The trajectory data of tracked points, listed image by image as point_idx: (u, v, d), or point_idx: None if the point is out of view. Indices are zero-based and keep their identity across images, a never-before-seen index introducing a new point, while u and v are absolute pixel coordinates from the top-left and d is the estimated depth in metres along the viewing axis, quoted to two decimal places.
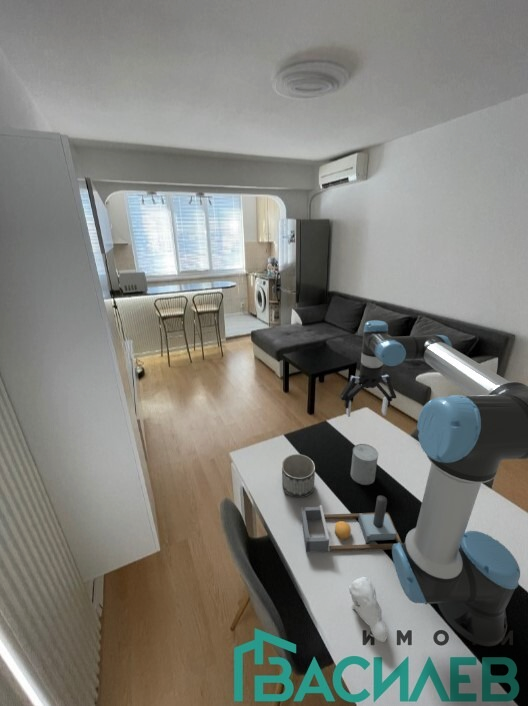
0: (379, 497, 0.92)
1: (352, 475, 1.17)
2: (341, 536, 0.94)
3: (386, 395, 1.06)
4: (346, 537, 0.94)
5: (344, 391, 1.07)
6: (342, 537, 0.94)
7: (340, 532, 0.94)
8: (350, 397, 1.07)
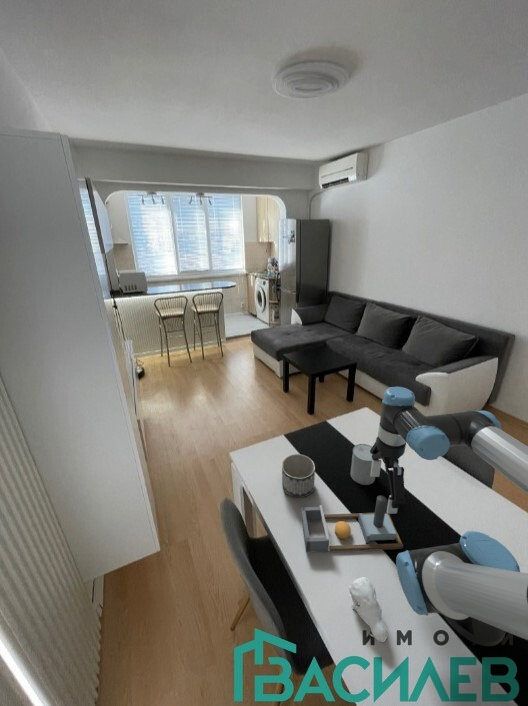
0: (379, 497, 0.92)
1: (352, 475, 1.17)
2: (341, 536, 0.94)
3: (390, 489, 0.81)
4: (346, 537, 0.94)
5: None
6: (342, 537, 0.94)
7: (340, 532, 0.94)
8: (373, 456, 0.93)
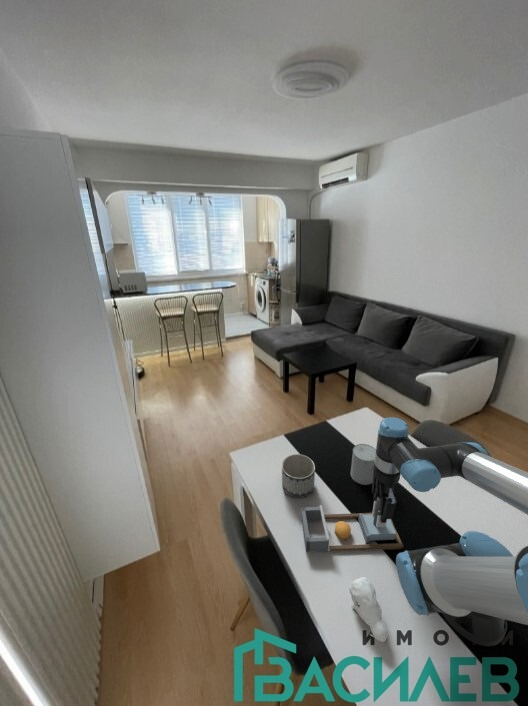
0: (379, 497, 0.92)
1: (352, 475, 1.17)
2: (341, 536, 0.94)
3: (380, 507, 0.89)
4: (346, 537, 0.94)
5: None
6: (342, 537, 0.94)
7: (340, 532, 0.94)
8: (374, 495, 0.94)
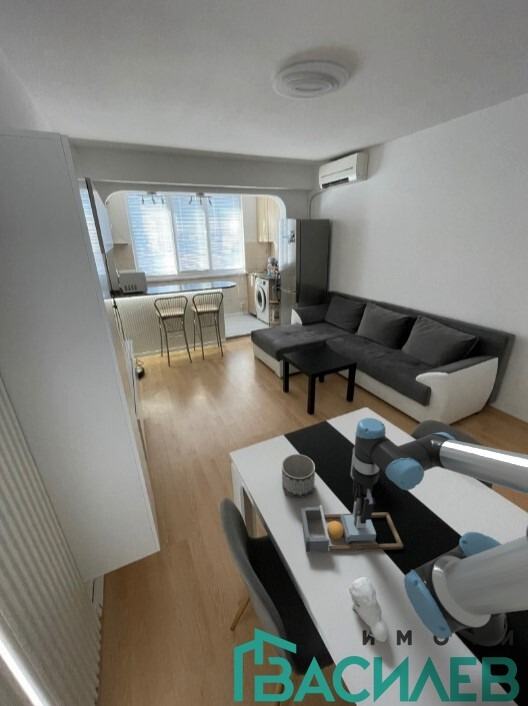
0: (359, 498, 0.92)
1: None
2: (334, 536, 0.94)
3: (360, 508, 0.89)
4: (339, 536, 0.94)
5: None
6: (335, 537, 0.94)
7: (332, 532, 0.94)
8: (355, 495, 0.94)
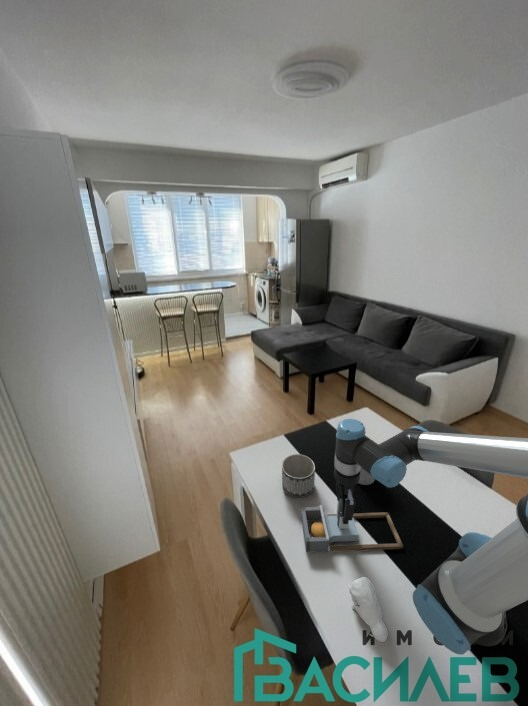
0: (341, 498, 0.92)
1: None
2: None
3: (342, 508, 0.89)
4: None
5: None
6: None
7: (316, 533, 0.94)
8: (338, 496, 0.94)
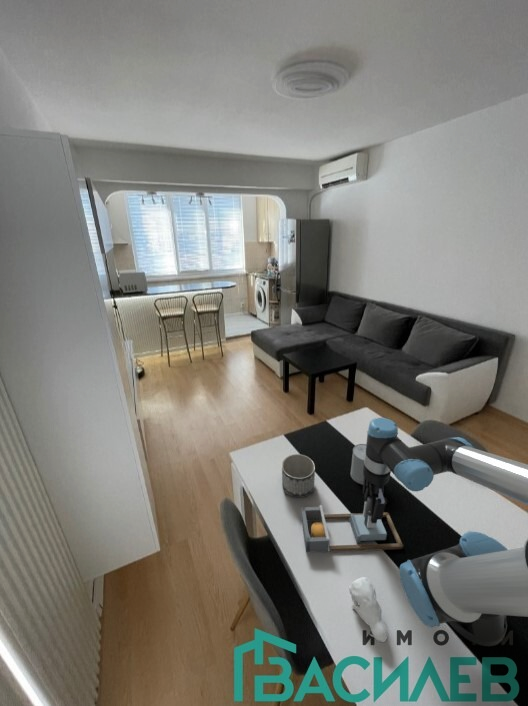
0: (370, 497, 0.92)
1: (352, 475, 1.17)
2: None
3: (371, 507, 0.89)
4: None
5: None
6: None
7: (315, 533, 0.94)
8: (365, 495, 0.94)
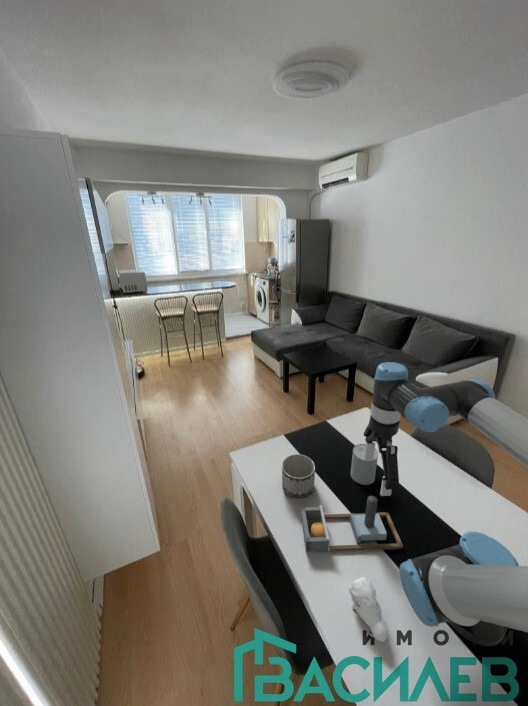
0: (370, 497, 0.92)
1: (352, 475, 1.17)
2: None
3: (384, 469, 0.78)
4: None
5: None
6: None
7: (315, 533, 0.94)
8: (367, 438, 0.90)
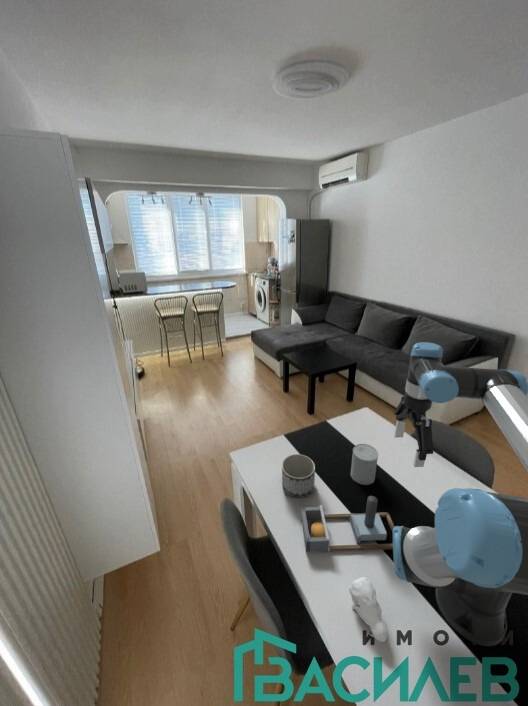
0: (370, 497, 0.92)
1: (352, 475, 1.17)
2: None
3: (418, 441, 0.85)
4: None
5: None
6: None
7: (315, 533, 0.94)
8: (398, 416, 0.97)
